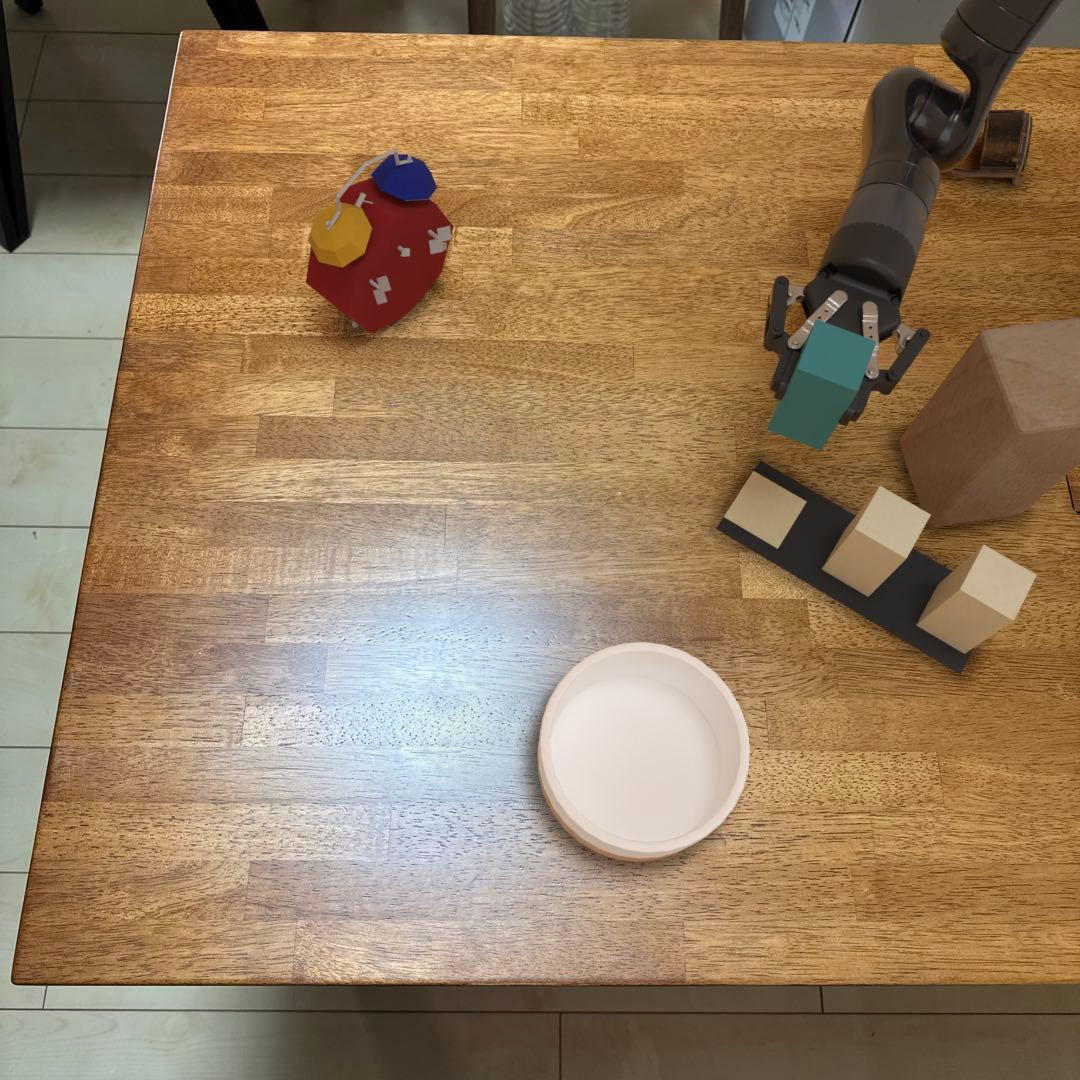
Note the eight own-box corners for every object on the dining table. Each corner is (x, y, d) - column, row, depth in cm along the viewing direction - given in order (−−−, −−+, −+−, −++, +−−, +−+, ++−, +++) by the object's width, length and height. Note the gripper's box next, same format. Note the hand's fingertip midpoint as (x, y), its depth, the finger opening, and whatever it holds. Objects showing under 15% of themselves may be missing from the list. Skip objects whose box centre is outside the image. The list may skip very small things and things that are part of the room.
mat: (997, 599, 97) (999, 597, 97) (958, 675, 94) (960, 674, 94) (759, 462, 102) (760, 459, 102) (715, 530, 99) (716, 528, 99)
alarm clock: (415, 241, 111) (397, 97, 93) (473, 285, 109) (467, 148, 91) (317, 325, 107) (277, 192, 88) (375, 373, 105) (348, 247, 86)
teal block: (838, 405, 89) (876, 341, 80) (821, 451, 88) (858, 391, 78) (784, 384, 90) (816, 318, 81) (766, 429, 88) (796, 368, 79)
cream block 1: (891, 556, 98) (931, 514, 89) (868, 597, 96) (906, 558, 87) (845, 529, 99) (880, 485, 90) (821, 569, 97) (854, 528, 88)
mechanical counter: (1023, 185, 110) (1068, 113, 111) (920, 124, 111) (966, 54, 112) (994, 216, 117) (1037, 149, 118) (898, 159, 118) (942, 93, 119)
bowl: (743, 691, 93) (764, 666, 85) (713, 884, 87) (733, 876, 79) (559, 648, 94) (564, 620, 86) (516, 836, 88) (517, 824, 80)
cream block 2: (986, 611, 96) (1037, 574, 87) (964, 654, 95) (1014, 620, 85) (938, 583, 97) (983, 544, 88) (915, 625, 96) (959, 589, 86)
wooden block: (1021, 516, 101) (1137, 416, 82) (925, 530, 100) (1020, 432, 81) (988, 427, 104) (1092, 313, 86) (895, 440, 104) (980, 327, 85)
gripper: (805, 193, 86) (738, 350, 80) (970, 252, 84) (915, 417, 78) (783, 250, 93) (720, 398, 87) (935, 306, 91) (881, 461, 85)
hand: (812, 406), depth 82 cm, fingers closed on teal block, 5 cm apart
